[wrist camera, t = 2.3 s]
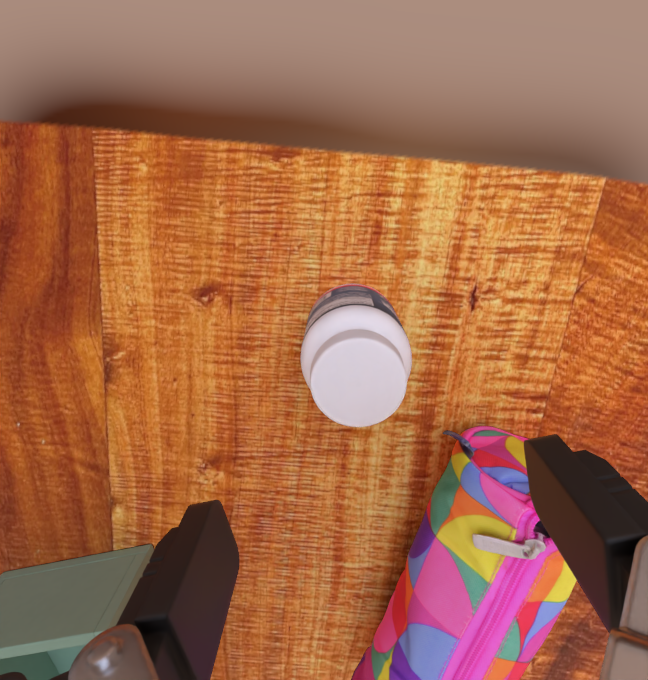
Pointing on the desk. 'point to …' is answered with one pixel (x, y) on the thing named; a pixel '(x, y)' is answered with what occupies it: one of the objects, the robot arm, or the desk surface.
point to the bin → (63, 608)
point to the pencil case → (473, 574)
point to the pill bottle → (355, 356)
